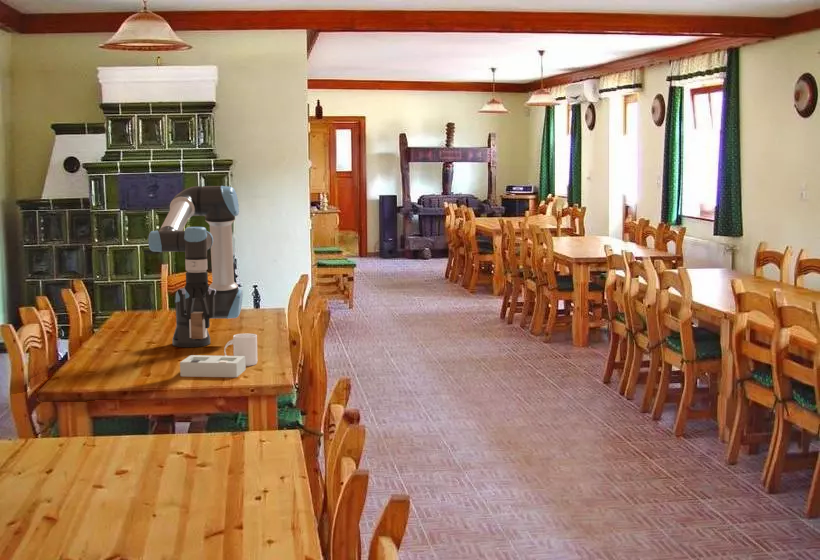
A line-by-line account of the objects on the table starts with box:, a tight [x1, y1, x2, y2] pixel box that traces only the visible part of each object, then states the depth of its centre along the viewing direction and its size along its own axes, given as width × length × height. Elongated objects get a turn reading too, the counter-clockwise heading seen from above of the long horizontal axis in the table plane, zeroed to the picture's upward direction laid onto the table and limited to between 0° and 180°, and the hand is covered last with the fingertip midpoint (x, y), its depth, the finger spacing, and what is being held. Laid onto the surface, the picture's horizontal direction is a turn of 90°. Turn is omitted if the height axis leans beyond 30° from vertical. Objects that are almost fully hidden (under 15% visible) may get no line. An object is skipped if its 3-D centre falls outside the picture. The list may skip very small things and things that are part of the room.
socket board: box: [179, 354, 247, 378], centre depth 337 cm, size 12×20×5 cm, turn 85°
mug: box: [223, 332, 258, 367], centre depth 351 cm, size 9×12×11 cm
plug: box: [191, 312, 204, 339], centre depth 336 cm, size 4×4×9 cm
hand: (198, 337), depth 336 cm, fingers closed on plug, 4 cm apart
